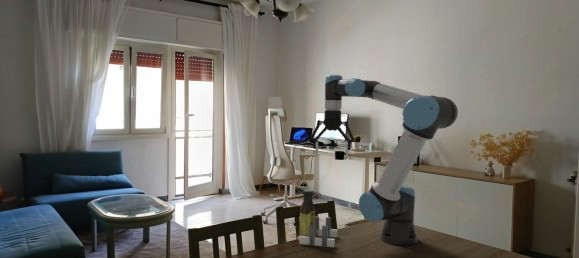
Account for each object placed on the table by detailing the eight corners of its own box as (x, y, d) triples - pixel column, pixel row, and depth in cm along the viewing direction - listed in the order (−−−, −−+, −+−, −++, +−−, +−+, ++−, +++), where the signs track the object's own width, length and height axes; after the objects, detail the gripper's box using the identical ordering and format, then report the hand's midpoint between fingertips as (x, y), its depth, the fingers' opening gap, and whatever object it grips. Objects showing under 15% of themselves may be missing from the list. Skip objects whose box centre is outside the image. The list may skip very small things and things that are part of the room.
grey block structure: (337, 236, 169) (337, 218, 168) (334, 247, 156) (334, 227, 155) (305, 233, 172) (305, 215, 171) (299, 244, 158) (299, 224, 158)
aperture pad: (317, 236, 168) (317, 235, 168) (315, 243, 160) (315, 241, 160) (299, 235, 169) (299, 233, 169) (295, 241, 162) (295, 239, 161)
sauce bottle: (313, 240, 161) (314, 192, 160) (298, 239, 162) (299, 191, 161) (315, 235, 167) (316, 189, 166) (300, 234, 168) (302, 188, 167)
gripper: (361, 110, 179) (359, 157, 180) (306, 109, 184) (305, 154, 185) (360, 110, 171) (359, 159, 173) (304, 109, 177) (303, 156, 178)
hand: (331, 156), depth 179 cm, fingers open, 13 cm apart
